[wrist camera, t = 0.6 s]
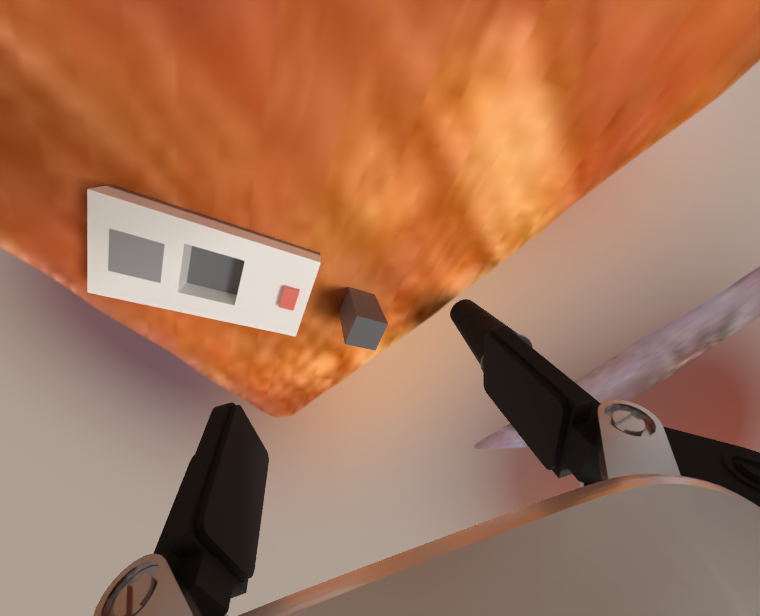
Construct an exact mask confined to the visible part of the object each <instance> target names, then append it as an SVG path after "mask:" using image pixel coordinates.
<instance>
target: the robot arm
mask: <svg viewBox="0 0 760 616" xmlns="http://www.w3.org/2000/svg"><path fill="white" fill-rule="evenodd" d="M484 388H485V391H486V393H487V394H488V395H489V396H490V398H491V399H492V400H493V401H494V403H495V404H496V405H497V407H498V408H499V409H500V411H501V412H502V413H503V414H504V416H505V417H506V418H507V419H508V421H509V422H510V423H511V425H512V426H513V427H514V428H515V430H516V431H517V432H518V433H519V435H520V436H521V437H522V439H523V440H524V441H525V442H526V444H527V445H528V446H529V447H530V449H531V450H532V451H533V453H534V454H535V455H536V456H537V458H538V459H539V460H540V461H541V463H542V464H543V465H544V466H545V467H546V468H547V469H548V470H553V472H554V473H555V474H556V475H557V477H558V478H561V477H564V476H567V475H569V474H573V475H574V476H575V477H576V478H577V480H578V481H580V488H578V489H575V490H573V491H569V492H566V493H564V494H561V495H558V496H555V497H552V498H549V499H546V500H543V501H540V502H538V503H535V504H532V505H530V506H527V507H524V508H521V509H519V510H516V511H513V512H511V513H508V514H505V515H503V516H500V517H497V518H494V519H491V520H489V521H486V522H483V523H480V524H478V525H475V526H472V527H470V528H467V529H464V530H462V531H459V532H456V533H453V534H451V535H448V536H445V537H443V538H440V539H438V540H435V541H432V542H429V543H427V544H424V545H421V546H419V547H416V548H413V549H410V550H408V551H405V552H402V553H400V554H397V555H395V556H392V557H389V558H386V559H384V560H381V561H379V562H376V563H373V564H371V565H368V566H365V567H362V568H360V569H357V570H355V571H352V572H350V573H347V574H344V575H341V576H339V577H336V578H333V579H331V580H328V581H326V582H323V583H320V584H318V585H315V586H312V587H310V588H307V589H305V590H302V591H300V592H297V593H294V594H291V595H289V596H286V597H284V598H281V599H279V600H276V601H274V602H271V603H269V604H266V605H264V606H261V607H259V608H256V609H254V610H252V611H249V612H246V613H244V614H241V615H239V616H760V453H759V452H756V451H752V450H750V449H746V448H743V447H739V446H736V445H731V444H728V443H724V442H720V441H716V440H713V439H709V438H704V437H701V436H697V435H693V434H689V433H686V432H682V431H678V430H674V429H670V428H666V427H663V426H662V424H661V422H660V420H659V419H658V418H657V417H656V416H655V415H654V414H653V413H651V412H649V411H648V410H647V409H645V408H643V407H641V406H639V405H637V404H635V403H631V402H628V401H624V400H607V401H605V402H603V403H601V404H600V403H599V402H598V401H597V400H596V399H594V398H593V397H592V396H591V395H589V394H588V393H587V392H586V391H584V390H583V389H582V388H581V387H580V386H578V385H577V384H576V383H575V382H573V381H572V380H571V379H570V378H568V377H567V376H566V375H565V374H564V373H562V372H561V371H560V370H559V369H557V368H556V367H555V366H554V365H553V364H551V363H550V362H549V361H548V360H546V359H545V358H544V357H543V356H541V355H540V354H539V353H538V352H536V351H535V350H534V349H533V348H531V347H530V346H529V345H528V344H527V343H525V342H524V341H523V340H522V339H520V338H519V337H518V336H517V335H516V334H514V333H513V332H512V331H511V330H509V329H508V328H507V327H506V326H503V325H502V326H498V327H495V328H491V329H489V330H488V331H487V334H485V335H484ZM268 463H269V457H268V453H267V451H266V449H265V447H264V445H263V444H262V442H261V440H260V438H259V437H258V435H257V433H256V431H255V430H254V428H253V426H252V425H251V423H250V421H249V419H248V418H247V416H246V415H245V412H244V411H243V409H242V407H241V406H240V405H235V404H234V403H228V404H224V405H221V406H217V407H215V408H214V409H213V411H212V412H211V415H210V418H209V420H208V423H207V425H206V428H205V430H204V433H203V436H202V438H201V441H200V443H199V446H198V448H197V451H196V454H195V455H194V456H193V457H192V459H191V461H190V463H189V466H188V468H187V471H186V473H185V476H184V478H183V481H182V483H181V486H180V488H179V491H178V493H177V496H176V498H175V501H174V503H173V506H172V508H171V511H170V514H169V516H168V519H167V521H166V524H165V526H164V529H163V531H162V534H161V536H160V539H159V541H158V544H157V546H156V549H155V551H154V554H150V555H146V556H143V557H142V558H140V559H138V560H136V561H134V562H133V563H132V564H131V565H129V566H128V567H127V568H125V569H124V570H123V571H122V572H121V573H120V574H119V575H118V576H117V577H116V578H115V580H113V582H112V583H111V584H110V586H109V587H108V588H107V590H106V591H105V593H104V594H103V596H102V597H101V599H100V601H99V603H98V605H97V607H96V610H95V613H94V616H228V615H227V612H228V609H229V603H230V598H233V597H236V596H238V595H241V594H244V593H246V590H247V583H248V579H249V578H251V577H252V576H253V573H254V569H255V562H256V554H257V546H258V538H259V531H260V524H261V515H262V509H263V501H264V493H265V485H266V478H267V471H268Z"/></svg>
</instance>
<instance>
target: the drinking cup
mask: <svg viewBox="0 0 760 616" xmlns="http://www.w3.org/2000/svg"><path fill="white" fill-rule="evenodd" d="M450 316H451V319H452V320H453V322H454V324H455V325H456V327H457V328H458V330H459V331H460V333H461V335H462V336H463V338H464V339H465V341H466V343H467V344H468V346H469V347H470V349H471V351H472V352H473V354H474V355H475V357H476V358H477V360H478V362H479V363H480V365H481V369H482V371H483V373H484V335H485V334H487V331H488V330H489V329H491V328H495V327H498V326H502V325H503V326H506V325H505V324H503V323H502V322H501V321H499V320H498V319H496V318H495V317H494V316H492V315H491V314H489V313H488V312H487V311H485V310H484V309H482V308H481V307H479V306H478V305H477V304H475V303H474V302H472V301H471V300H467V299H466V300H461V301H459V302H457V303H456V304H455V305H454V306H453V307H452V309H451V312H450ZM506 327H507V328H508V329H509V330H511V331H512V332H513V333H514V334H516V335H517V336H518V337H519V338H520V339H522V340H523V341H524V342H525V343H527V344H528V345H529V346H530V347H531V348H532V344H531V342H530V340H529V339H527V338H526V337H525V336H523V335H520V334H518V333H516V332H515V331H513V330H512V329H511V328H509V327H508V326H506Z"/></svg>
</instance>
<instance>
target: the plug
mask: <svg viewBox="0 0 760 616" xmlns="http://www.w3.org/2000/svg"><path fill="white" fill-rule="evenodd" d="M339 314H340V320H341V325H342V331H343V336H344V341H345V344H348V345H353V346H357V347H362V348H367V349H371V350H376V348H377V346H378V344H379V342H380V339H381V337H382V335H383V333H384V331H385V329H386V327H387V325H388V323H387V321H386V318H385V316H384V314H383V312H382V310H381V307H380V305H379V303H378V301H377V299H376V296H375V295H374V294H371V293H367V292H364V291H360V290H357V289H354V288H350V287H348V290H347V292H346V295H345V297H344V300H343V302H342V305H341V307H340V310H339Z"/></svg>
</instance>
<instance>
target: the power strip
mask: <svg viewBox="0 0 760 616" xmlns="http://www.w3.org/2000/svg"><path fill="white" fill-rule="evenodd" d="M320 264H321V260H320V253H318V252H315V251H312V250H309V249H306V248H303V247H300V246H297V245H294V244H290V243H287V242H284V241H281V240H278V239H275V238H272V237H269V236H266V235H263V234H260V233H257V232H254V231H251V230H248V229H245V228H242V227H239V226H236V225H233V224H229V223H226V222H223V221H220V220H217V219H214V218H211V217H208V216H205V215H202V214H199V213H196V212H193V211H190V210H187V209H184V208H181V207H178V206H175V205H172V204H169V203H165V202H162V201H159V200H156V199H153V198H150V197H147V196H144V195H141V194H138V193H135V192H132V191H129V190H126V189H123V188H120V187H117V186H114V185H107V186H101V187H95V188H89V189H87V281H88V293H93V294H97V295H102V296H107V297H112V298H116V299H121V300H126V301H130V302H135V303H140V304H145V305H149V306H154V307H159V308H163V309H168V310H173V311H178V312H182V313H187V314H192V315H197V316H201V317H206V318H211V319H215V320H220V321H225V322H230V323H234V324H239V325H244V326H249V327H253V328H258V329H263V330H267V331H272V332H277V333H282V334H286V335H291V336H296V334H297V331H298V328H299V325H300V322H301V319H302V316H303V314H304V311H305V308H306V305H307V302H308V299H309V296H310V293H311V290H312V287H313V284H314V281H315V278H316V275H317V272H318V269H319V266H320Z"/></svg>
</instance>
